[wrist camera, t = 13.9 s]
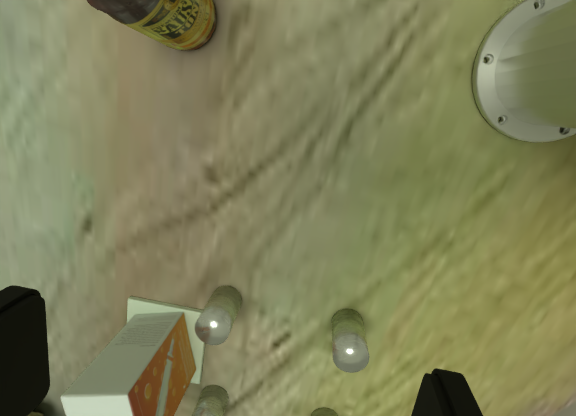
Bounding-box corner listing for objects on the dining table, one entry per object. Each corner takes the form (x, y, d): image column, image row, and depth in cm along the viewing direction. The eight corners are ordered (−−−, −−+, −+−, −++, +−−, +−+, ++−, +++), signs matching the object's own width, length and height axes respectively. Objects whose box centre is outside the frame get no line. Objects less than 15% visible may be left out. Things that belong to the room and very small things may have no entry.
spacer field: (365, 312, 41) (372, 345, 35) (335, 433, 46) (337, 480, 40) (213, 283, 42) (196, 311, 36) (200, 404, 47) (182, 447, 41)
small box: (197, 368, 44) (148, 471, 32) (148, 370, 45) (81, 471, 33) (185, 309, 42) (127, 395, 30) (133, 312, 43) (56, 397, 31)
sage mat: (208, 311, 43) (206, 313, 42) (201, 380, 46) (199, 384, 45) (130, 296, 43) (127, 298, 43) (127, 365, 46) (125, 369, 45)
